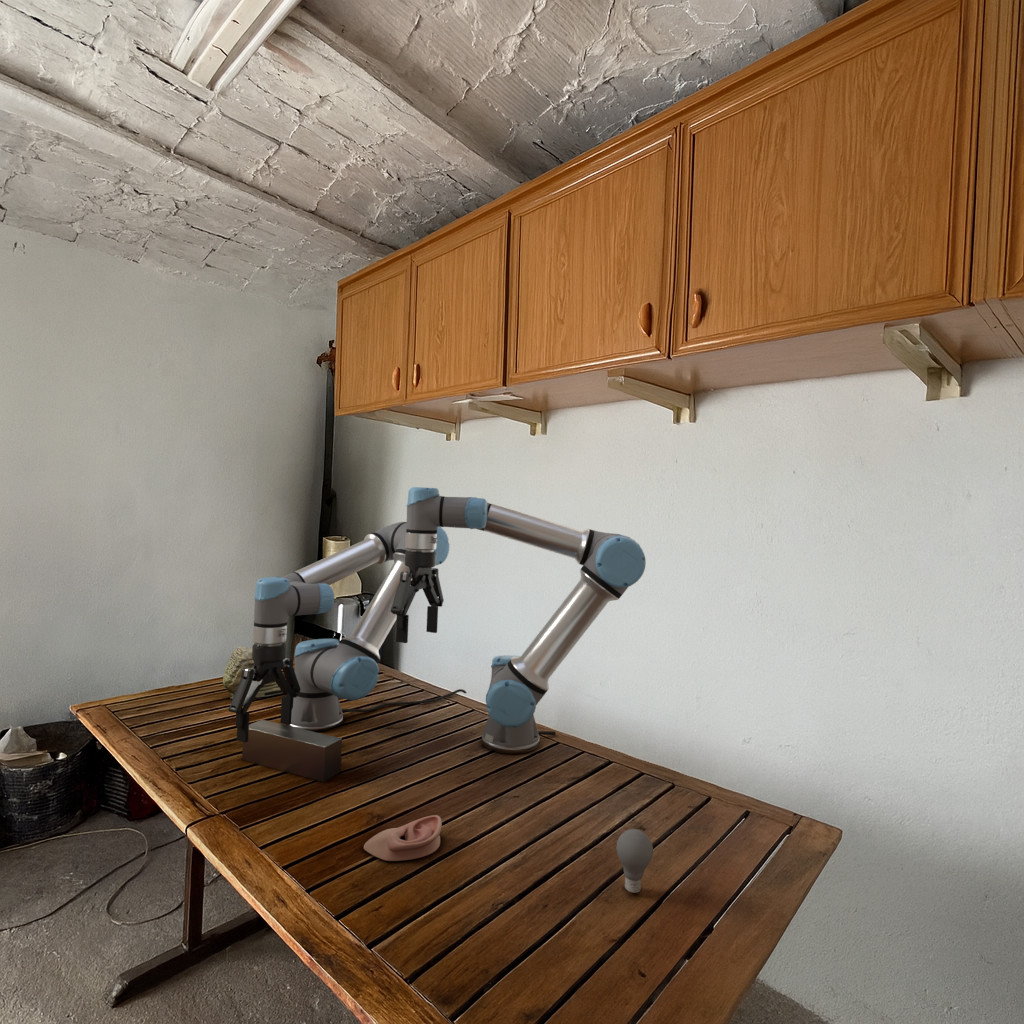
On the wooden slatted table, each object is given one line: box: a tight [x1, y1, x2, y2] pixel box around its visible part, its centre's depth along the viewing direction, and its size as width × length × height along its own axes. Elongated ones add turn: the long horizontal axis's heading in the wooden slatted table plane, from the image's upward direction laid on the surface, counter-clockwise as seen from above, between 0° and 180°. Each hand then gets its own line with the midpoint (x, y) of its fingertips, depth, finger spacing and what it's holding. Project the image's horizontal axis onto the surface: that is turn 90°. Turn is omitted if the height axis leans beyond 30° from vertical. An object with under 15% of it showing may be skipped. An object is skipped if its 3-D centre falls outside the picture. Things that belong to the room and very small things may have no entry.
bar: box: [241, 719, 343, 783], centre depth 148 cm, size 24×6×8 cm, turn 66°
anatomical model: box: [363, 814, 443, 862], centre depth 116 cm, size 13×4×12 cm
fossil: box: [222, 646, 284, 699], centre depth 198 cm, size 9×18×15 cm, turn 132°
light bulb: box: [615, 828, 654, 894], centre depth 106 cm, size 6×6×10 cm
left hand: (264, 732), depth 151 cm, fingers open, 13 cm apart
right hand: (417, 637), depth 155 cm, fingers open, 13 cm apart
